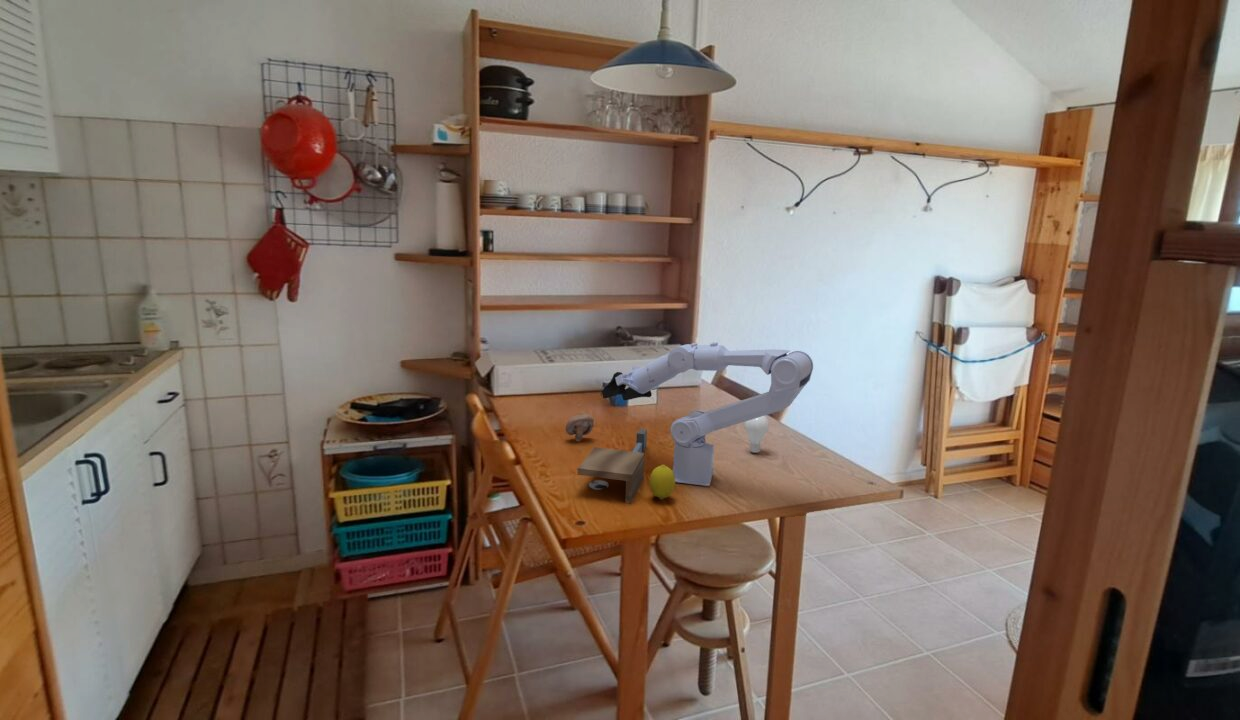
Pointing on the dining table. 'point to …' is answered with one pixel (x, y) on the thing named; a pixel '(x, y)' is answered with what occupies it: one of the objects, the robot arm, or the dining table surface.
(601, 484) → the token
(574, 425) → the mushroom
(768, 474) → the dining table surface
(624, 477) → the shelf
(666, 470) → the lemon
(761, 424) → the lightbulb
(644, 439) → the scraper
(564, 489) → the dining table surface
